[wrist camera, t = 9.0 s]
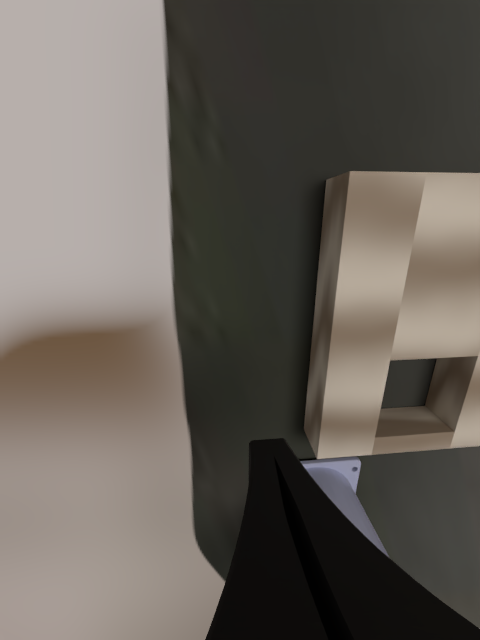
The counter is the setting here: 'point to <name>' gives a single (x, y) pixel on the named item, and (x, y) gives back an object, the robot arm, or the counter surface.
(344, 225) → the trap deck
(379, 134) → the counter surface
